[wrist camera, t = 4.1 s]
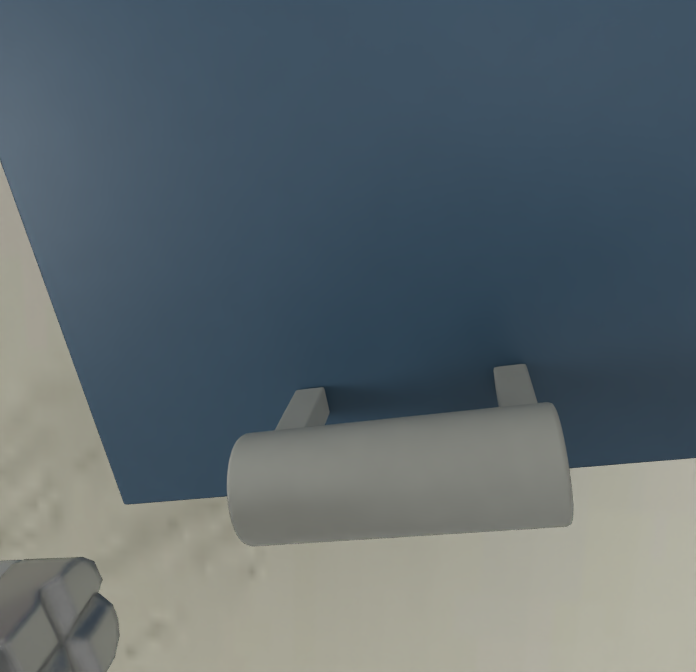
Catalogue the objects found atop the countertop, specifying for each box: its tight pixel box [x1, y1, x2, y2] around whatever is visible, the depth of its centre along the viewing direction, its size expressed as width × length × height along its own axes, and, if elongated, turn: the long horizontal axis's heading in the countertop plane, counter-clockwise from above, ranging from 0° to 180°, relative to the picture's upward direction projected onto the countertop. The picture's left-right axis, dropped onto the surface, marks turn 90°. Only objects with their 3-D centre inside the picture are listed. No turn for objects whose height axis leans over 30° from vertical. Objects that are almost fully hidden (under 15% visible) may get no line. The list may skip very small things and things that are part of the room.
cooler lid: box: [0, 0, 696, 546], centre depth 10 cm, size 19×16×5 cm
